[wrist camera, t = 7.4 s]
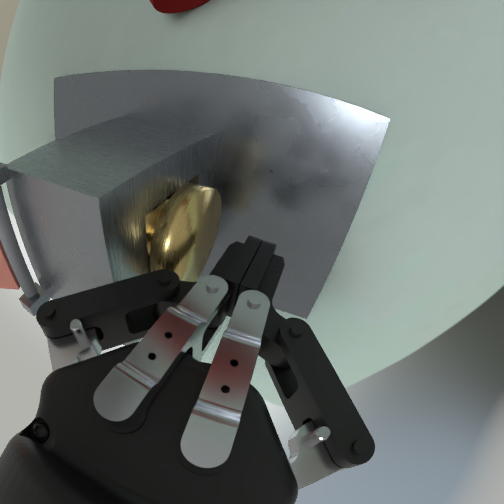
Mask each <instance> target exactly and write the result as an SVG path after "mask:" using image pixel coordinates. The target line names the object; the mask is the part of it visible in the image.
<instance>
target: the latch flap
mask: <svg viewBox="0 0 504 504" xmlns="http://www.w3.org/2000/svg"><path fill="white" fill-rule="evenodd" d="M20 286H21V288H22V290H23V292H24V294H25V296H26V297H28V298H30V297H33V296H34V295H35V294H36V292H37V288H36V286H35V284H34V281H33V279H32V277H31V275H30V272H29V270H28V268H27V265H26V263H25V261H24V258H23V256H22V253H21V250H20V248H19V245H18V242H17V239H16V236H15V233H14V231H13V227H12V224H11V221H10V218H9V215H8V211H7V207H6V204H5V200H4V196H3V192H2V188H1V186H0V288H6V289H19V288H20Z"/></svg>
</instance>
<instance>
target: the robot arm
mask: <svg viewBox="0 0 504 504" xmlns="http://www.w3.org/2000/svg"><path fill="white" fill-rule="evenodd" d="M276 246H277V244H274V243H271V242H268V241H265V240H262V239H259V238H256V237H253V236H250V235H249V236H248V238H247V239H246V241H245V243H241V242H238V241H236V242H234V243H232V244H230V245H229V246H228V248H227V249H226V251H225V253H223V255H222V257H221V258H220V259H219V261H218V262H217V264H216V265H215V267H214V268H213V270H212V271H211V273H210V274H209V275H207V276H204V277H202V278H200V279H199V280H198V281H197V282H189V281H180V279H179V276H178V275H177V273H175V272H174V271H172V270H169V269H160V270H156V271H153V272H149V273H146V274H142V275H138V276H135V277H131V278H128V279H124V280H121V281H117V282H113V283H110V284H106V285H103V286H99V287H96V288H92V289H89V290H85V291H82V292H78V293H75V294H71V295H68V296H64V297H61V298H57V299H54V300H50V301H47V302H45V303H43V304H42V305H41V306H40V307H39V309H38V310H37V313H36V319H37V321H38V323H39V325H40V326H41V328H42V330H43V332H44V334H45V336H46V337H47V340H48V347H49V353H50V358H51V363H52V369H53V372H52V373H51V374H50V375H49V376H48V377H47V378H46V380H45V381H44V383H43V386H42V390H41V397H40V403H39V408H38V411H37V414H36V417H35V419H34V420H33V421H32V423H31V424H30V425H28V426H27V427H26V428H25V429H24V430H22V431H21V432H19V433H18V434H16V435H15V436H14V437H13V438H12V439H11V440H10V441H9V443H8V445H7V447H6V448H5V450H4V451H3V453H2V455H1V457H0V504H294V503H295V501H296V498H297V494H298V489H301V488H303V487H305V486H307V485H310V484H312V483H314V482H316V481H318V480H320V479H322V478H324V477H327V476H328V475H331V474H332V473H334V472H337V471H340V470H344V469H347V468H351V467H354V466H357V465H360V464H363V463H366V462H367V461H369V460H370V459H371V457H372V456H373V454H374V450H375V444H374V440H373V438H372V436H371V435H370V433H369V431H368V429H367V427H366V426H365V424H364V422H363V420H362V418H361V417H360V415H359V413H358V411H357V409H356V407H355V406H354V404H353V402H352V400H351V399H350V397H349V395H348V393H347V391H346V389H345V388H344V386H343V384H342V382H341V381H340V379H339V377H338V375H337V373H336V372H335V370H334V368H333V366H332V365H331V363H330V361H329V359H328V358H327V356H326V354H325V352H324V351H323V349H322V347H321V345H320V344H319V342H318V340H317V338H316V337H315V335H314V333H313V331H312V330H311V328H310V326H309V325H308V324H307V323H306V322H305V321H303V320H301V319H298V318H288V319H285V318H283V317H282V316H280V315H279V314H278V313H277V312H276V311H275V309H274V307H273V304H272V300H273V297H274V294H275V291H276V288H277V286H278V283H279V280H280V277H281V274H282V272H283V269H284V266H285V263H284V259H283V257H281V256H278V255H275V254H274V253H275V250H276ZM226 315H227V316H229V317H231V319H230V322H229V324H228V327H227V329H226V330H225V331H224V333H223V336H222V338H221V341H220V343H219V346H218V349H217V351H216V354H215V356H214V359H213V362H212V364H210V363H204V362H201V360H202V357H203V355H204V354H205V352H206V350H207V349H208V347H209V346H210V344H211V343H212V341H213V339H214V338H215V336H216V335H217V333H218V332H219V330H220V328H221V326H222V323H223V321H224V319H225V317H226ZM140 338H142V339H141V341H140V342H136V343H132V344H129V345H126V346H123V347H120V348H118V349H115V350H112V351H109V352H106V353H104V354H101V351H102V350H105V349H109V348H112V347H115V346H118V345H122V344H125V343H128V342H131V341H134V340H137V339H140ZM100 354H101V355H100ZM258 355H259V356H260V357H262V358H263V359H264V360H265V365H266V367H267V369H268V372H269V374H270V376H271V378H272V381H273V383H274V385H275V387H276V389H277V392H278V394H279V396H280V398H281V400H282V403H283V405H284V407H285V409H286V411H287V413H288V416H289V418H290V420H291V422H292V424H293V426H294V428H295V430H296V431H294V432H293V433H292V434H291V436H290V437H289V440H288V446H289V449H290V458H289V460H288V459H287V456H286V454H285V452H284V449H283V447H282V444H281V442H280V439H279V437H278V434H277V432H276V429H275V427H274V424H273V422H272V419H271V417H270V414H269V412H268V409H267V407H266V404H265V402H264V400H263V398H262V396H261V395H260V393H259V392H258V391H257V390H256V389H255V388H254V387H253V386H252V385H251V384H250V382H251V378H252V375H253V371H254V368H255V364H256V360H257V357H258Z"/></svg>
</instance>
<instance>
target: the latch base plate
mask: <svg viewBox="0 0 504 504" xmlns="http://www.w3.org/2000/svg"><path fill="white" fill-rule="evenodd" d="M54 120H55V137H56V140H55V141H53V142H51V143H49V144H46V145H44V146H42V147H40V148H38V149H36V150H34V151H32V152H30V153H28V154H26V155H24V156H22V157H20V158H18V159H16V160H14V161H12V162H11V163H9V164H4V163H0V185H1V184H3V183H5V182H6V184H7V188H8V192H9V197H10V201H11V204H12V208H13V212H14V215H15V219H16V222H17V225H18V228H19V231H20V235H21V237H22V240H23V243H24V246H25V249H26V251H27V254H28V257H29V259H30V262H31V264H32V267H33V269H34V272H35V274H36V276H37V279H38V281H39V283H40V285H41V286H40V285H38V284H37V283H36V282H35V283H34V284H35V286H36V288H37V292H36V294H35V295H34V296H33V297H30V298H28V297H26V296H25V294H23V295H22V296H21V297H20V298H19V300H20V302H21V303H22V305H23V307H24V308H25V309H26V310H28V312H30V313H31V314H32V315H33V316H35V315H36V313H37V310H38V309H39V307H40V306H41V305H42V304H43V303H45V302H47V301H49V300H50V298H52V299H53V300H54V299H57V298H61V297H64V296H68V295H71V294H75V293H78V292H82V291H85V290H89V289H92V288H96V287H99V286H103V285H106V284H110V283H113V282H117V281H121V280H124V279H128V278H131V277H135V276H138V275H142V274H146V273H149V272H151V270H150V256H149V255H148V251H147V239H146V223H145V214H147V213H148V212H149V211H150V210H152V209H153V208H154V207H155V206H157V205H158V204H159V203H160V202H162V201H163V200H164V199H170V198H171V196H172V195H173V194H174V193H175V192H176V191H177V190H178V189H179V188H180V187H181V186H183V185H184V184H187V183H191V182H192V183H196V184H200V185H203V186H207V187H211V188H214V189H216V190H218V192H219V194H220V197H221V218H220V224H219V229H218V233H217V236H216V240H215V243H214V246H213V249H212V252H211V254H210V257H209V259H208V261H207V264H206V266H205V268H204V270H203V271H202V273H201V275H200V277H199V278H198V280H199V279H200V278H202V277H204V276H207V275H209V274H210V273H211V271H212V270H213V268H214V267H215V265H216V264H217V262H218V261H219V259H220V258H221V257H222V255H223V253H225V251H226V249H227V248H228V246H229V245H230V244H232V243H234V242H236V241H238V242H241V243H245V241H246V239H247V238H248V236H249V235H250V236H253V237H256V238H259V239H262V240H265V241H268V242H271V243H274V244H277V246H276V250H275V253H274V254H275V255H278V256H281V257H283V259H284V263H285V266H284V269H283V272H282V274H281V277H280V280H279V283H278V286H277V288H276V291H275V294H274V297H273V300H272V304H273V307H274V308H276V309H279V310H282V311H285V312H288V313H291V314H294V315H297V316H300V317H303V318H306V319H307V317H308V315H309V313H310V311H311V309H312V307H313V305H314V303H315V301H316V299H317V297H318V295H319V293H320V291H321V289H322V287H323V285H324V283H325V281H326V279H327V277H328V275H329V273H330V271H331V268H332V266H333V264H334V262H335V260H336V258H337V255H338V253H339V251H340V249H341V247H342V244H343V242H344V240H345V237H346V235H347V233H348V231H349V228H350V226H351V223H352V221H353V219H354V216H355V214H356V211H357V209H358V207H359V204H360V202H361V199H362V197H363V194H364V191H365V189H366V186H367V184H368V181H369V178H370V176H371V173H372V170H373V168H374V165H375V162H376V159H377V156H378V154H379V151H380V148H381V145H382V142H383V139H384V136H385V133H386V130H387V127H388V124H389V121H390V118H387V117H385V116H383V115H380V114H377V113H375V112H372V111H370V110H367V109H364V108H361V107H359V106H356V105H353V104H350V103H347V102H344V101H341V100H338V99H335V98H331V97H328V96H325V95H321V94H318V93H314V92H310V91H306V90H303V89H299V88H294V87H290V86H286V85H281V84H277V83H272V82H267V81H261V80H256V79H250V78H244V77H237V76H230V75H222V74H213V73H203V72H191V71H172V70H127V71H109V72H97V73H87V74H79V75H72V76H65V77H59V78H54ZM140 340H141V338H140V339H137V340H134V341H131V342H128V343H125V344H123V345H125V346H126V345H129V344H132V343H136V342H139V341H140Z"/></svg>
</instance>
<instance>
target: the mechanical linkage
mask: <svg viewBox="0 0 504 504" xmlns="http://www.w3.org/2000/svg"><path fill="white" fill-rule="evenodd" d="M208 1H210V0H150V2H151V3H152V5H153V6H154V8H155V9H156V10H157V11H159V12H162V13H178V12H183V11H187V10H190V9H193V8H196V7H199V6H201V5H203V4H205V3H207V2H208Z"/></svg>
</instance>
